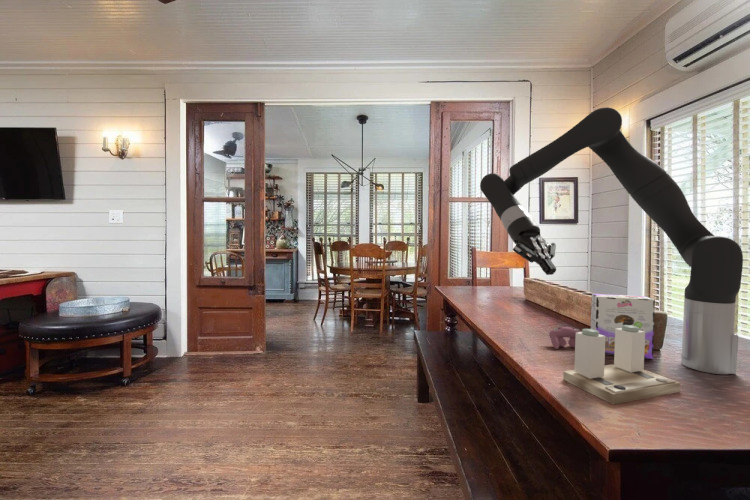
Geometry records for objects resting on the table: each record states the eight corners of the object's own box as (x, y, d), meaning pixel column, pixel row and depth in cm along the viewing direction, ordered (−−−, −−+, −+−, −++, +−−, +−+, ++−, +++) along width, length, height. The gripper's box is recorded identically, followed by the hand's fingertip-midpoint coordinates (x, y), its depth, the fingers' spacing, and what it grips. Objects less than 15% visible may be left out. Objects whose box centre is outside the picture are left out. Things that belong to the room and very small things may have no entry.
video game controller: (584, 352, 103) (579, 328, 106) (591, 350, 99) (586, 325, 102) (549, 351, 104) (545, 327, 107) (555, 348, 100) (551, 324, 103)
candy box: (644, 352, 98) (647, 295, 98) (653, 359, 93) (656, 299, 92) (589, 347, 103) (591, 292, 102) (594, 353, 97) (596, 295, 97)
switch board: (563, 379, 80) (563, 369, 80) (624, 370, 85) (624, 361, 85) (613, 404, 68) (613, 392, 68) (679, 391, 74) (680, 380, 74)
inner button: (613, 366, 82) (615, 325, 82) (626, 364, 83) (628, 324, 83) (630, 372, 78) (632, 329, 78) (643, 370, 80) (645, 328, 79)
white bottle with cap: (574, 371, 79) (575, 329, 78) (587, 369, 80) (589, 327, 79) (589, 378, 75) (591, 333, 74) (604, 376, 76) (605, 332, 76)
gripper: (506, 214, 94) (538, 263, 82) (545, 215, 98) (582, 262, 86) (493, 234, 99) (522, 282, 88) (531, 234, 103) (563, 281, 92)
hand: (551, 272), depth 87 cm, fingers closed
